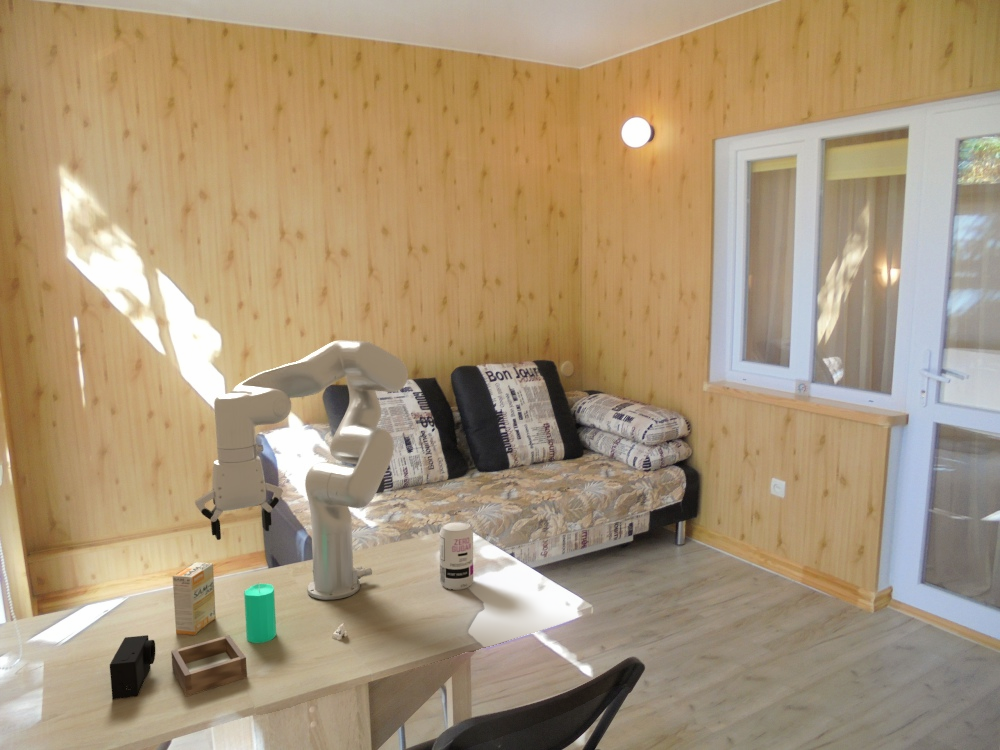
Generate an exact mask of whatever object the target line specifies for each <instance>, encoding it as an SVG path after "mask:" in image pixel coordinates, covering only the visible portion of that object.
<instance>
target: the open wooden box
mask: <svg viewBox="0 0 1000 750" xmlns="http://www.w3.org/2000/svg"><path fill="white" fill-rule="evenodd" d="M171 667H172V672H173V674H174V675H175V678H176V680H177V681H178V683H179V685H180V688H181V689H182V691H183V693H184V694H185V697H188V696H192V695H195V694H197V693H201V692H204V691H208V690H211V689H214V688H217V687H221V686H223V685H226V684H229V683H232V682H236V681H239V680H240V681H241V680H243V679H246V678H247V677H248V674H247V673H248V670H247V657H246V655H245V654H244V653H243V651H242V650H241V649H240V647H239V646H238V644H237V643H236V642H235V641H234V639H233V638H232V637H231V635H229V634H228V635H224V636H220V637H217V638H214V639H210V640H207V641H202V642H199V643H196V644H195V643H194V644H192V645H189V646H185V647H182V648H177V649H174V650H171Z"/></svg>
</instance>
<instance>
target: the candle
mask: <svg viewBox="0 0 1000 750" xmlns="http://www.w3.org/2000/svg"><path fill="white" fill-rule="evenodd" d="M243 594H244V595H243V596H244V610H245V611H244V612H245V632H246V639H247V641H248V642H249V643H252V644H263V643H266V642H270V641H271V640H273V639H275V637H276V635H277V626H276V625H277V623H276V604H275V601H276V600H275V588H274V586H273V584H271V583H270V584H269V583H258V584H257V583H256V584H254V585H253V584H252V585H251V586H250V587H248V588H247V589H246V590H244V593H243Z"/></svg>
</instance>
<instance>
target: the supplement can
mask: <svg viewBox="0 0 1000 750" xmlns="http://www.w3.org/2000/svg"><path fill="white" fill-rule="evenodd" d="M439 582H440V584H441V585H442V586H443V587H444V588H445V589H447V588H448V590H451V589H453V590H452V591H461V590H465V589H467V588H469V587H470V586H471V585H473V583H474V531H473V529H472V526H471V524H470V523H469V522H465V521H462V520H461V521H459V520H458V521H448V522H445V523H443V524H442V526H441V527H440V531H439Z"/></svg>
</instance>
